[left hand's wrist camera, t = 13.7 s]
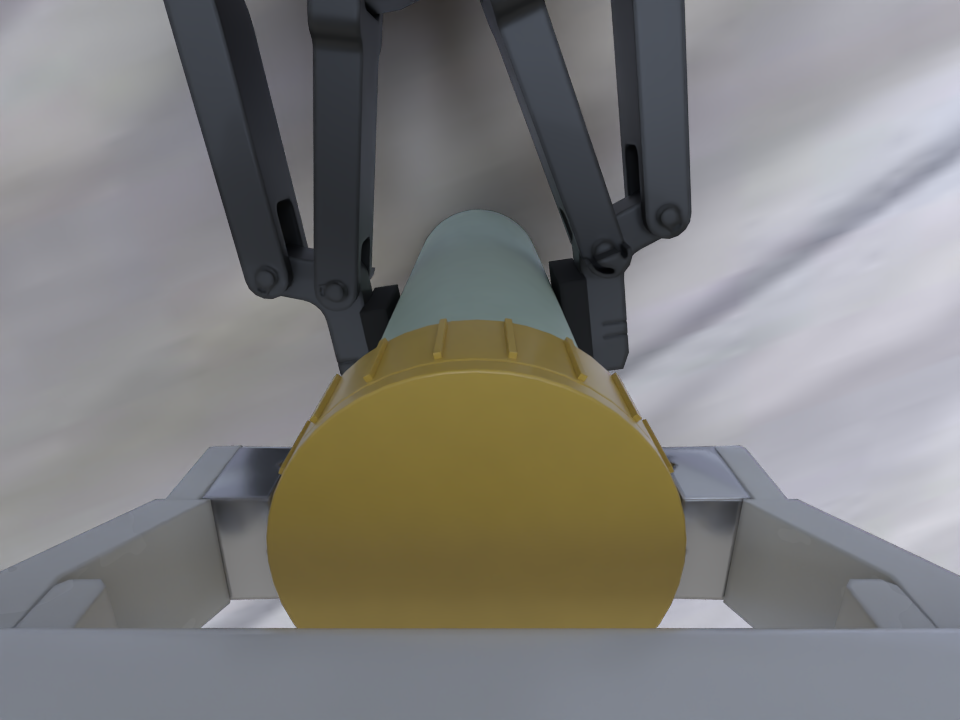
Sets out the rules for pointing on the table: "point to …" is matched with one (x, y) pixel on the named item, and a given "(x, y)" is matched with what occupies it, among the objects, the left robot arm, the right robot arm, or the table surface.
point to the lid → (476, 491)
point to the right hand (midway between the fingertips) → (502, 467)
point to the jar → (478, 278)
